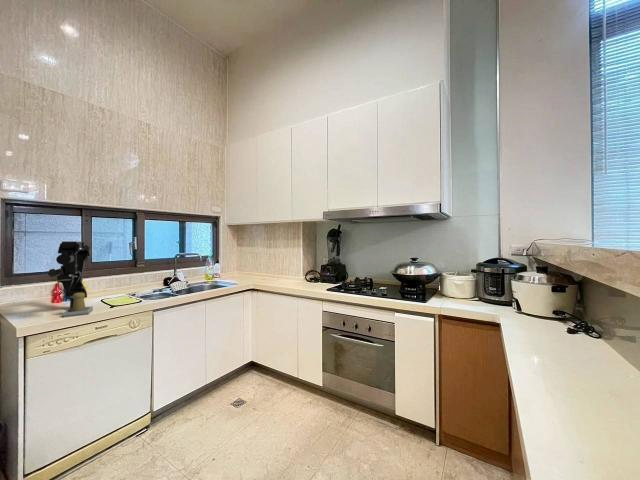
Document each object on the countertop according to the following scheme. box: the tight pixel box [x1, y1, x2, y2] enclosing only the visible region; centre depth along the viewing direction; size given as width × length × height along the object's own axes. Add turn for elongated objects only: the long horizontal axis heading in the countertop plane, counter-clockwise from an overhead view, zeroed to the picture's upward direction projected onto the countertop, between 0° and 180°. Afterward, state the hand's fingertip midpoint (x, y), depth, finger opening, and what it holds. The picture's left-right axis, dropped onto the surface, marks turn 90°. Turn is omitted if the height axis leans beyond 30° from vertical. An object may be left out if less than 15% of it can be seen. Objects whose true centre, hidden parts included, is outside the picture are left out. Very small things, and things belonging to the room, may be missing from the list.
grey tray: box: [62, 306, 94, 318], centre depth 147 cm, size 10×10×2 cm
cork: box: [72, 293, 86, 312], centre depth 147 cm, size 6×6×11 cm
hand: (69, 290), depth 147 cm, fingers open, 9 cm apart
